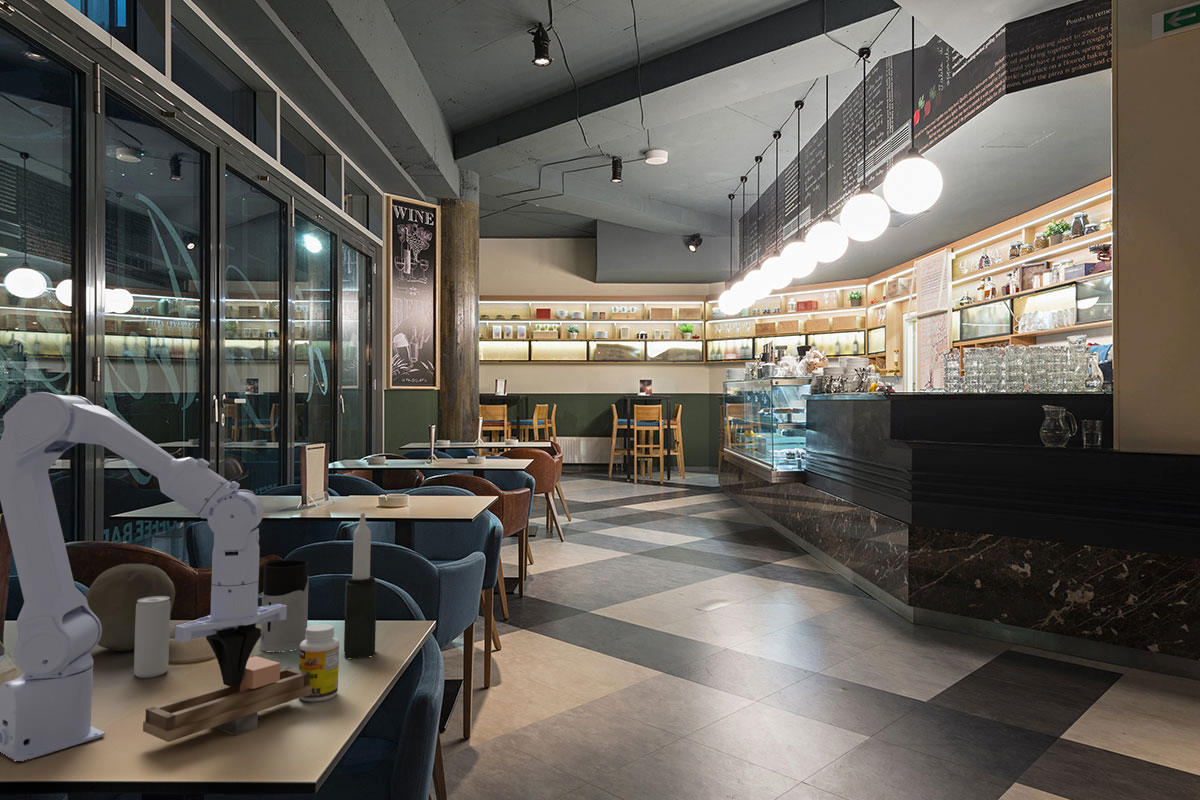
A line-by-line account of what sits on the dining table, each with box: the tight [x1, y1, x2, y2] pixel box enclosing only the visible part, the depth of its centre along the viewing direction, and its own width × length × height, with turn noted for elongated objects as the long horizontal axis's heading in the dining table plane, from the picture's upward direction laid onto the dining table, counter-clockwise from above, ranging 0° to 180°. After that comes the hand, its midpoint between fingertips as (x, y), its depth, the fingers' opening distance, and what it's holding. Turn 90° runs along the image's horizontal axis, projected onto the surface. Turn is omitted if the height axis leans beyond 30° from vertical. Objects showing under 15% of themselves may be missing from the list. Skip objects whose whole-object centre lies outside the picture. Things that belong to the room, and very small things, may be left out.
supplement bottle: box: [298, 623, 340, 703], centre depth 111 cm, size 6×6×10 cm
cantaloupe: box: [84, 563, 176, 652], centre depth 134 cm, size 14×14×15 cm
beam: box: [142, 666, 312, 743], centre depth 99 cm, size 20×6×5 cm, turn 148°
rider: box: [240, 655, 281, 692], centre depth 102 cm, size 4×6×4 cm
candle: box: [343, 512, 378, 659], centre depth 132 cm, size 5×5×25 cm
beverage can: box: [133, 596, 171, 679], centre depth 120 cm, size 5×5×12 cm
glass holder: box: [257, 559, 310, 653], centre depth 135 cm, size 9×14×15 cm, turn 137°
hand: (232, 684), depth 99 cm, fingers closed
